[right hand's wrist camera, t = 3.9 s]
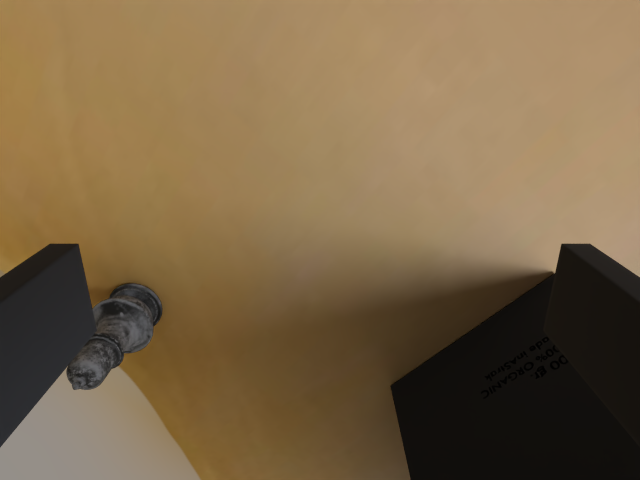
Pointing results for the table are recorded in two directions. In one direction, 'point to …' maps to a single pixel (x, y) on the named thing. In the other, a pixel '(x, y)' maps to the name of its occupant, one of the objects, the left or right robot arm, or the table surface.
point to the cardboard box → (509, 408)
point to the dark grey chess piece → (115, 334)
